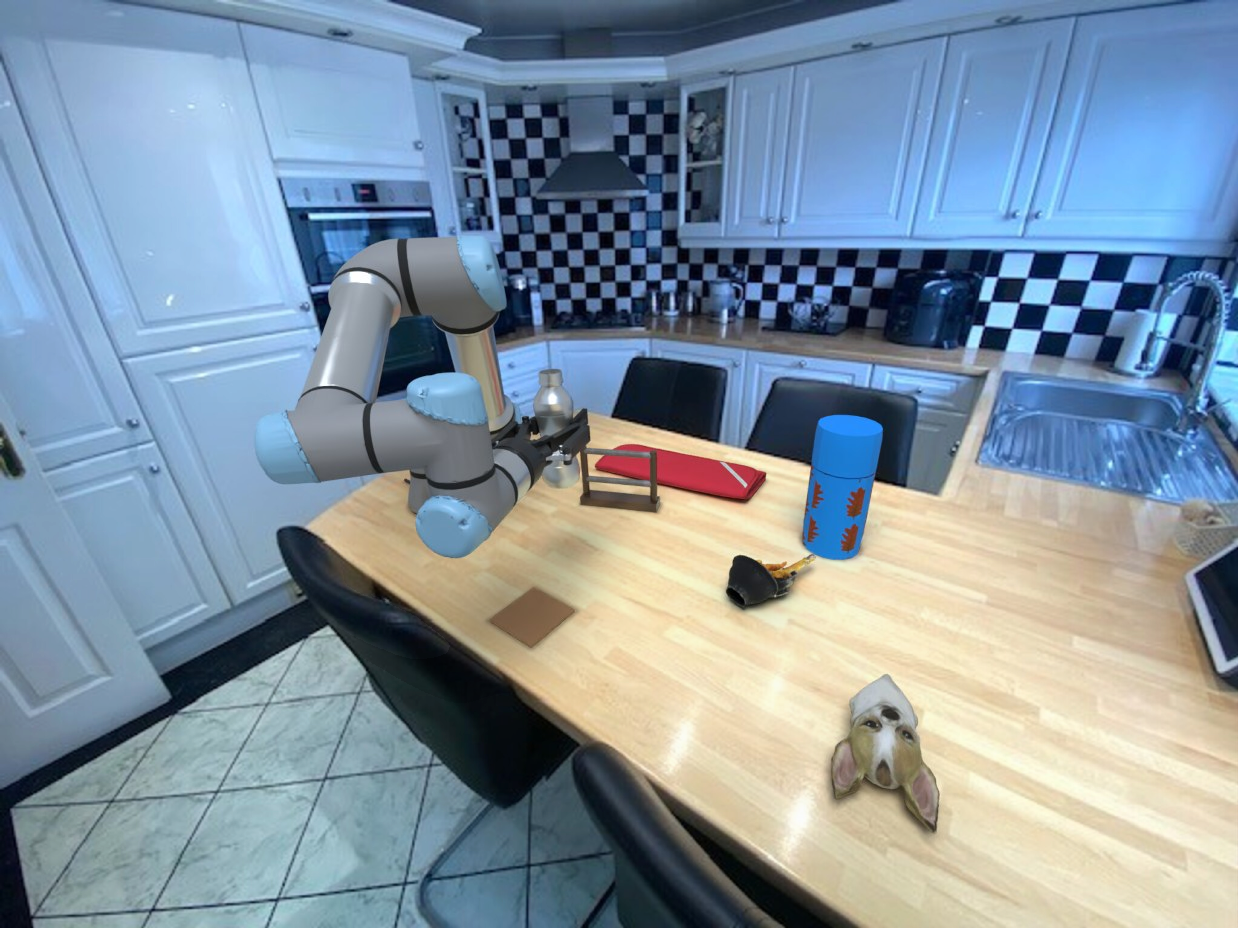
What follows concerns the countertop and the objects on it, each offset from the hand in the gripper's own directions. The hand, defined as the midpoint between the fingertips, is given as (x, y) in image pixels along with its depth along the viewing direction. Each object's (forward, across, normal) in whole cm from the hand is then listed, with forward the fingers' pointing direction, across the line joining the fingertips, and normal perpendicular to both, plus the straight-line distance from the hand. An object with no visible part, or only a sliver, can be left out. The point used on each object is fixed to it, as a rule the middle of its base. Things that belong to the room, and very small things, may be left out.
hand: (566, 415), depth 88 cm
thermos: (+13, +48, -29) cm, 57 cm away
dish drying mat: (+38, +14, -29) cm, 50 cm away
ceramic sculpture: (-33, +48, -30) cm, 65 cm away
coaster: (-18, -2, -29) cm, 35 cm away
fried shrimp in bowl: (-3, +36, -29) cm, 47 cm away
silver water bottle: (-5, 0, -11) cm, 12 cm away
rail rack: (+21, +3, -29) cm, 36 cm away
